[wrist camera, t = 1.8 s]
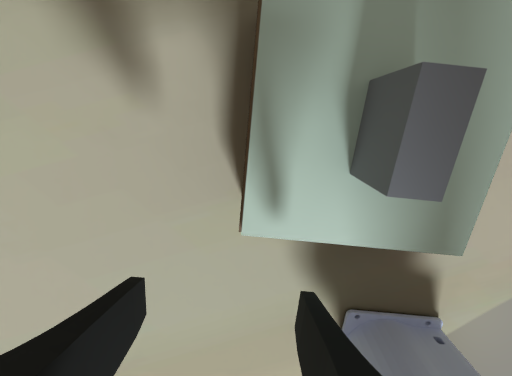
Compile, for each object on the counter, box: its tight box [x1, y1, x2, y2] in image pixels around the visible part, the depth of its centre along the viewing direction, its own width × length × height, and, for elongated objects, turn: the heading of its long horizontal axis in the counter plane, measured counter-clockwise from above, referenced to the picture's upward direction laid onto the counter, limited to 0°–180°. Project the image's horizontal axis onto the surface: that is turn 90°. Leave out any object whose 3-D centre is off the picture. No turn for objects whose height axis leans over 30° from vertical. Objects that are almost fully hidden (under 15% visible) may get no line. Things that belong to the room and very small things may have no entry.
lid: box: [241, 0, 512, 256], centre depth 11 cm, size 14×14×5 cm
